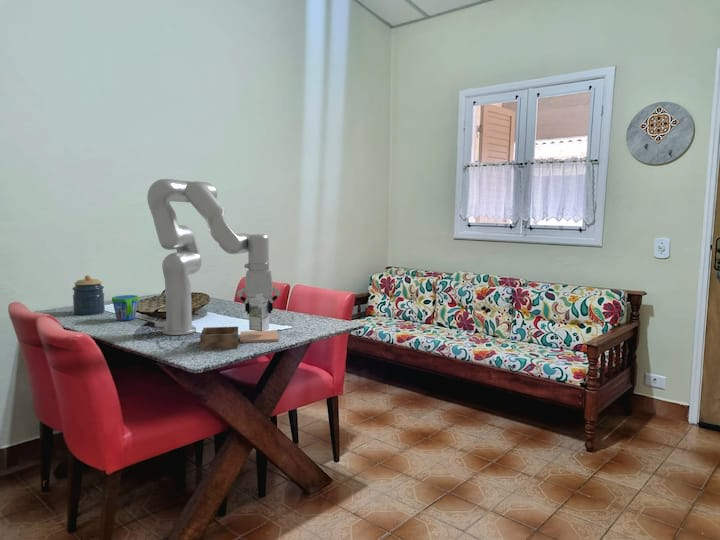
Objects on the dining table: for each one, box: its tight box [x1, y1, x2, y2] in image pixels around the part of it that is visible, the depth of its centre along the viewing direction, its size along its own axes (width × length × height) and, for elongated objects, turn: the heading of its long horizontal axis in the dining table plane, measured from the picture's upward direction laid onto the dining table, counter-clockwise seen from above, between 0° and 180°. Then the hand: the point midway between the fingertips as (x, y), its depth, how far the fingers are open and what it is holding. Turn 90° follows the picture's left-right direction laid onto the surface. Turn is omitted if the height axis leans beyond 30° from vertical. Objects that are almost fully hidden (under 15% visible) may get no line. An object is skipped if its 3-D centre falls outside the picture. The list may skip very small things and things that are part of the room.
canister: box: [71, 274, 106, 316], centre depth 234 cm, size 13×13×18 cm
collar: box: [199, 326, 239, 350], centre depth 183 cm, size 12×12×5 cm
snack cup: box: [111, 294, 139, 322], centre depth 221 cm, size 16×10×10 cm
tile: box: [239, 329, 279, 344], centre depth 194 cm, size 14×14×1 cm
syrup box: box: [248, 293, 270, 331], centre depth 193 cm, size 6×6×14 cm
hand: (259, 312), depth 193 cm, fingers closed on syrup box, 7 cm apart
